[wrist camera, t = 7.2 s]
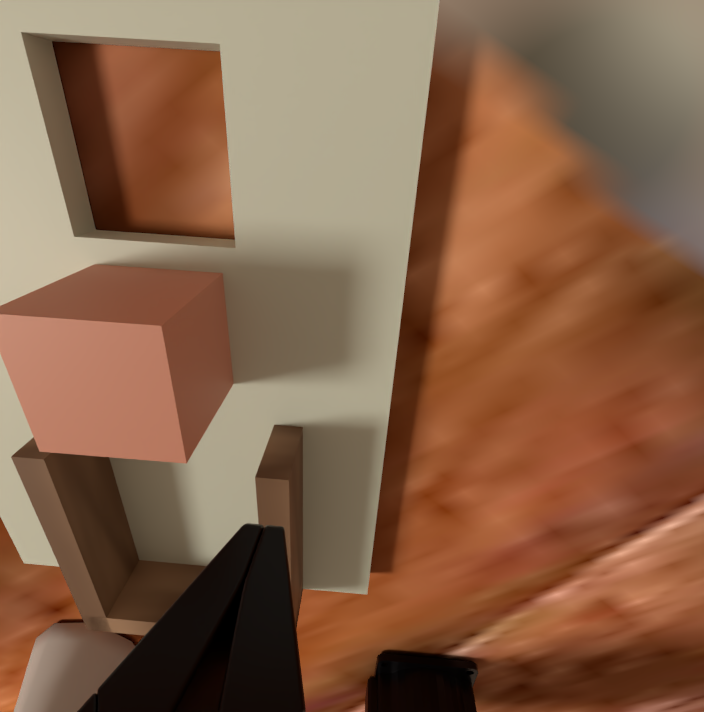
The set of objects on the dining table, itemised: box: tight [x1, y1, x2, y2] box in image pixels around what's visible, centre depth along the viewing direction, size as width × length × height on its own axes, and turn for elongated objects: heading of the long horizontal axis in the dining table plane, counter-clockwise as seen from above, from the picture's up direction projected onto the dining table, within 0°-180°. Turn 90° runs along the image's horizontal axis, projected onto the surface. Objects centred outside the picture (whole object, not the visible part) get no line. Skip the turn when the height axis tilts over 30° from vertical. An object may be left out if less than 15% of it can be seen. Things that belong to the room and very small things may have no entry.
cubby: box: [11, 425, 303, 635], centre depth 18 cm, size 10×11×3 cm
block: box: [0, 264, 234, 464], centre depth 13 cm, size 4×4×4 cm
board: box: [0, 0, 440, 594], centre depth 17 cm, size 19×26×1 cm
